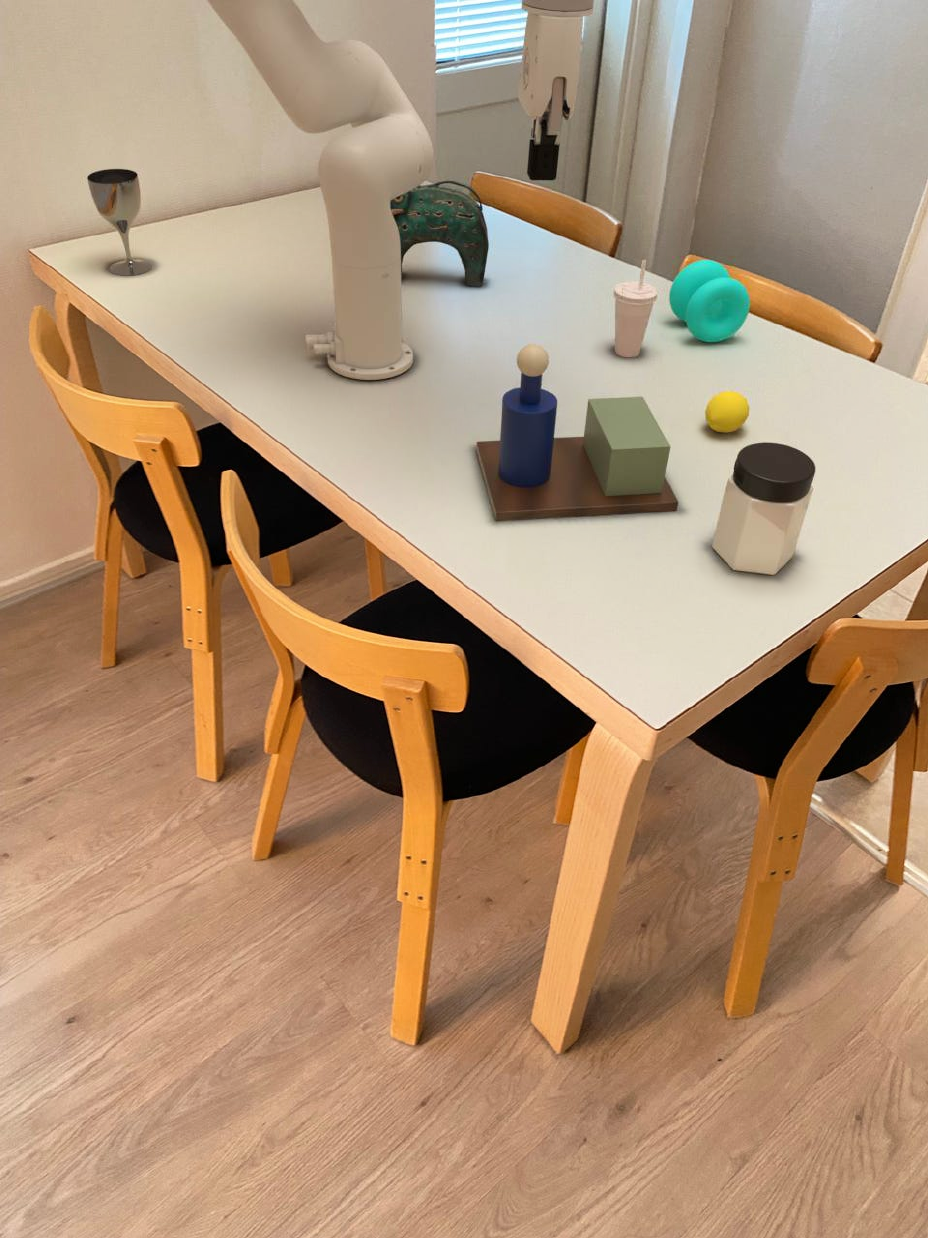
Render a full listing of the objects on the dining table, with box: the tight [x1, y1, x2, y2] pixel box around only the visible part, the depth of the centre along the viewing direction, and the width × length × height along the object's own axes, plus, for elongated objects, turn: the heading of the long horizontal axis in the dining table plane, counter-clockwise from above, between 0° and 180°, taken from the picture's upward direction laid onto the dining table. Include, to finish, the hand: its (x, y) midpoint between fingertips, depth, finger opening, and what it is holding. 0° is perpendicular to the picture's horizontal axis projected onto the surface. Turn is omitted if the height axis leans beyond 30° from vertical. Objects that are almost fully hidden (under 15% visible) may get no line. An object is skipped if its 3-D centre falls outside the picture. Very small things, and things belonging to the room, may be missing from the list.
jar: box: [711, 441, 816, 576], centre depth 106 cm, size 9×8×12 cm
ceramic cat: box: [390, 180, 490, 288], centre depth 161 cm, size 20×6×20 cm, turn 83°
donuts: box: [668, 259, 751, 343], centre depth 151 cm, size 10×10×10 cm
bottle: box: [498, 343, 558, 487], centre depth 115 cm, size 14×6×15 cm
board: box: [475, 436, 679, 522], centre depth 120 cm, size 22×16×1 cm
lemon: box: [704, 390, 750, 434], centre depth 129 cm, size 7×5×5 cm
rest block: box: [583, 396, 671, 496], centre depth 119 cm, size 7×12×6 cm, turn 8°
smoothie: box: [612, 259, 658, 358], centre depth 143 cm, size 6×6×14 cm
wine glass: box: [86, 168, 153, 277], centre depth 163 cm, size 8×8×15 cm
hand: (541, 177), depth 114 cm, fingers closed
